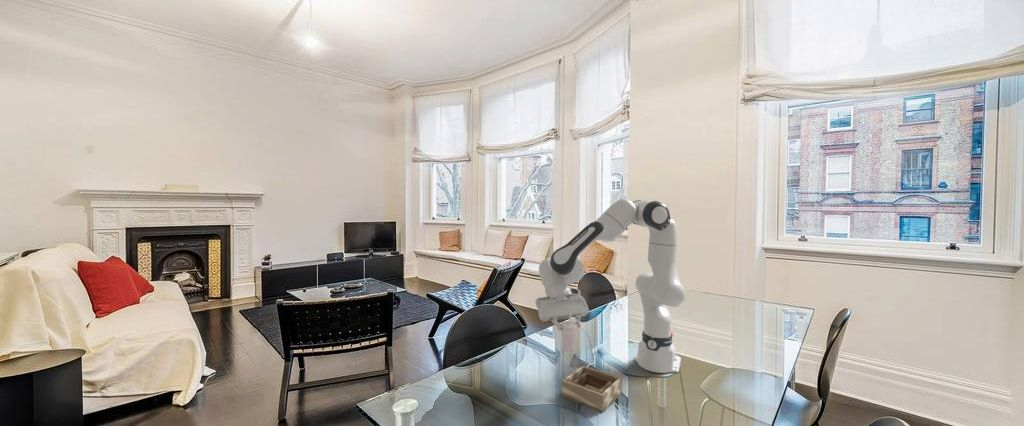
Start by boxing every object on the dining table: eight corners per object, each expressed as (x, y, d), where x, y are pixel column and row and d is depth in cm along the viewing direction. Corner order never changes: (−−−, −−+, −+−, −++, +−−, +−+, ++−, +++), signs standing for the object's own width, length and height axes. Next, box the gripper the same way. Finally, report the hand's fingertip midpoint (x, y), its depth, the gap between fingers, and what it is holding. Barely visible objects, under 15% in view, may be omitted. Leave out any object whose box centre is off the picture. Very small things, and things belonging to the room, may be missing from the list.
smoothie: (576, 353, 148) (577, 316, 147) (559, 352, 150) (559, 315, 148) (577, 346, 155) (578, 311, 153) (560, 345, 156) (561, 310, 155)
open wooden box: (582, 380, 158) (583, 365, 157) (621, 393, 148) (622, 378, 147) (561, 396, 145) (562, 380, 144) (602, 412, 135) (603, 395, 135)
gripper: (536, 294, 153) (547, 327, 145) (583, 289, 160) (596, 321, 152) (531, 302, 158) (542, 335, 149) (577, 297, 165) (589, 328, 157)
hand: (569, 328), depth 151 cm, fingers closed on smoothie, 6 cm apart
